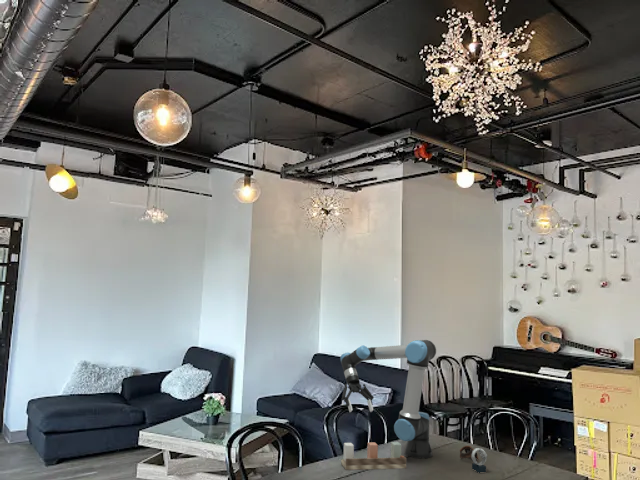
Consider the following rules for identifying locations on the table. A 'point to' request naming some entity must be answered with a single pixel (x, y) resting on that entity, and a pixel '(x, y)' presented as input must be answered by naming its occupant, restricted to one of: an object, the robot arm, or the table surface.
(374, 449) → the terracotta key
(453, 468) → the table surface
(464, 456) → the pottery mug
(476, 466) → the small desk fan
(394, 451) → the pale green upright block
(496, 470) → the table surface
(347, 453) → the off-white key
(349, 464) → the birch key console
